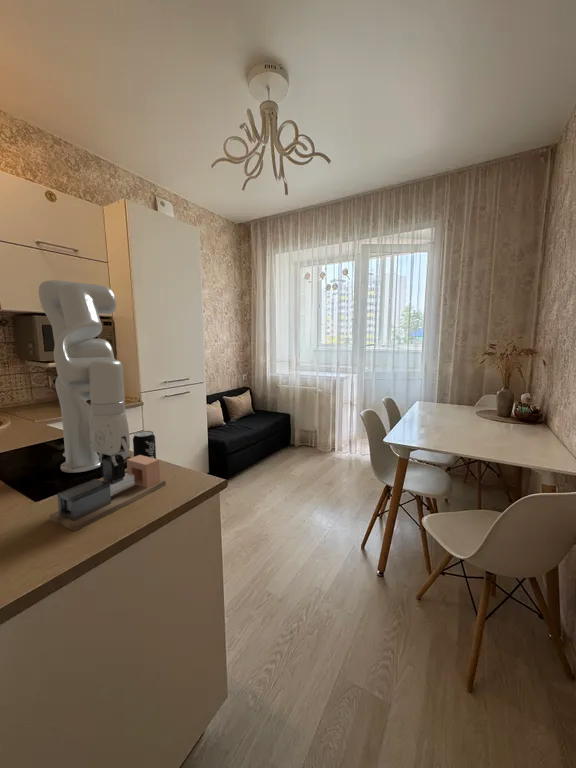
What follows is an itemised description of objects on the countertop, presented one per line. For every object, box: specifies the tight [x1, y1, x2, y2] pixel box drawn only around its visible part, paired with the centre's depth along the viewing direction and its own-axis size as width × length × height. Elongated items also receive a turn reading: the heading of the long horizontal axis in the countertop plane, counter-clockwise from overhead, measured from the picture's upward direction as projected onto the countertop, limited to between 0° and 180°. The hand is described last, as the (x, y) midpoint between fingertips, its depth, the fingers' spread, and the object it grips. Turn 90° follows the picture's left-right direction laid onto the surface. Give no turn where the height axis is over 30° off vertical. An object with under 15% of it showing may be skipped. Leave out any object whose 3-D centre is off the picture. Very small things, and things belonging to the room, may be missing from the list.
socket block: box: [126, 455, 161, 488], centre depth 92 cm, size 8×4×7 cm, turn 64°
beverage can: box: [132, 430, 157, 459], centre depth 104 cm, size 7×7×12 cm
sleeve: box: [56, 478, 111, 521], centre depth 77 cm, size 6×9×5 cm, turn 154°
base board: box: [49, 479, 167, 532], centre depth 84 cm, size 10×26×1 cm, turn 153°
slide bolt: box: [66, 456, 135, 511], centre depth 81 cm, size 4×16×9 cm, turn 154°
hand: (113, 476), depth 84 cm, fingers closed on slide bolt, 3 cm apart
